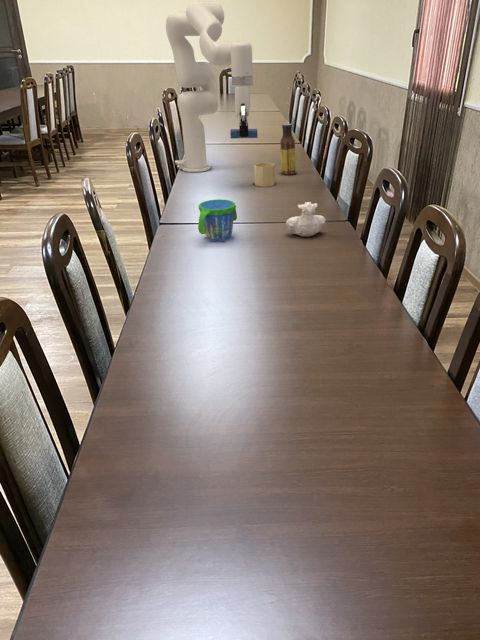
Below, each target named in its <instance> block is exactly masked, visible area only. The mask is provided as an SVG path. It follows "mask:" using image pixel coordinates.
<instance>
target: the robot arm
mask: <svg viewBox="0 0 480 640" xmlns="http://www.w3.org/2000/svg"><path fill="white" fill-rule="evenodd" d="M185 9H186V10H180V11H179V10H178V11H173V12H171V13H169V14H168V15H167V17H166V20H165V32H166V37H167V39H168V42H169V44H170V47H171V50H172V55H173V62H174V68H175V74H176V79H177V83H178V85H179V86H180V87H181V88H184V89H190V88H191V89H192V88H201V90H190V91H189V90H188V91H184V92H182V93H180V94H179V95H178V97H177V100H176V101H177V108H178V111H179V116H180V122H181V129H182V130H181V132H182V140H183V151H184V152H183V153H184V154H183V155H184V158H183V159H182V160H181V159H180V160H179V159H178V160H176V159H175V160H174V165H175V166H182V167H181V169H182V171H184V172H187V173H200V172H206V171H209V170H211V165H210V164H208V163H207V161H208V160H207V148H206V146H207V145H206V133H205V132H206V131H205V125H204V123H203V121H202V120H201V119H200V117H199V116H207V115H213V114H215V113H216V112H217V111H218V108H219V97H218V89H217V83H216V76H215V70H214V68H213V66H217V67H218V66H219V67H220V66H230V69H231V72H230V73H231V87H233V88H234V105H235V107H234V109H235V117H237V118H238V117H239V126H238V127H239V128H238V129H239V130H240V137H248V129H249V122H248V117H249V116H250V106H251V92H250V91H251V88H250V87H253V86H254V79H253V78H254V74H253V73H254V72H253V46H252V43H250V42H249V41H238V40H231V41H230V40H224V41H223V40H222V41H218V40H219V39H220V37H221V36H222V33H223V27H222V26H223V24H224V22H225V11H224V8H223V6H222V5H221V3H219V2H217V1H212V0H209V1H208V0H202V1H201V0H197V1H192V2H190V3H189V4H188V5H187V7H186V8H185ZM187 37H199V41H198V42H199V43H198V44H199V49H200V53H201V54H202V56H203V57H204V59H205V60H206V61H197V60H196V57H195V50H194V47H193V45H192V44H191V43H190V41H189V40H188V39H187Z"/></svg>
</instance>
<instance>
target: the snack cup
mask: <svg viewBox="0 0 480 640" xmlns="http://www.w3.org/2000/svg"><path fill="white" fill-rule="evenodd" d="M197 208H198V210H199V217H198V224H197V230H198V233H199V234H200V235H205V237H206V238H207V240H209V241H211V242H225V241H228V240H230V239H232V236H233V228H234V222H235V221H237V219H238V213H237V205H236V202H235V201H233V200H230V199H221V198H220V199H219V198H217V199H208V200H205V201H202V202H201V203H199V204H198V207H197Z"/></svg>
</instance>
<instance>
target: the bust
mask: <svg viewBox="0 0 480 640" xmlns="http://www.w3.org/2000/svg"><path fill="white" fill-rule="evenodd" d="M297 208H298V210H299V209H300V210H301V213H300V214H301V215H298V216H292V217H290V218H288V219H287V220H286V221H285V226H286V227H285V228H286V231H287V232H288V233H289V234H291V235H297V236H300V237H304V238H309V237H313V236H314V235H316V234H318V233H319V232H320V231H321V230H322V229H323V226H324V225H325V223H326V217H324V215H321V214H316V209H317V208H318V203H316V202H315V203H312V202H311V201H305V202H304V203H301V204H297Z"/></svg>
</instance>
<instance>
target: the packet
mask: <svg viewBox="0 0 480 640" xmlns="http://www.w3.org/2000/svg"><path fill="white" fill-rule="evenodd" d="M229 132H230V139H231V140H233V139H258V128H248V137H240V130H239V128H234V129H233V128H230V131H229Z"/></svg>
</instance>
